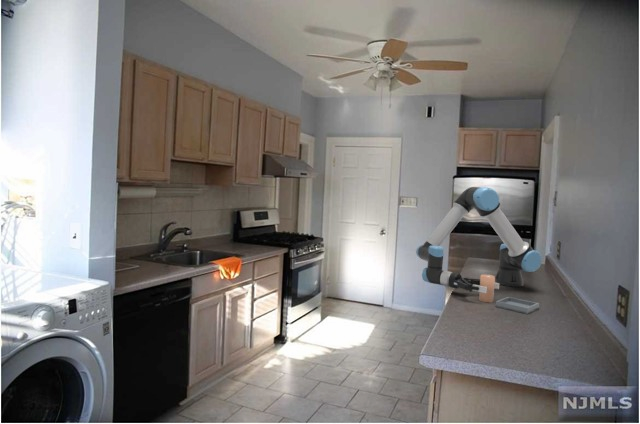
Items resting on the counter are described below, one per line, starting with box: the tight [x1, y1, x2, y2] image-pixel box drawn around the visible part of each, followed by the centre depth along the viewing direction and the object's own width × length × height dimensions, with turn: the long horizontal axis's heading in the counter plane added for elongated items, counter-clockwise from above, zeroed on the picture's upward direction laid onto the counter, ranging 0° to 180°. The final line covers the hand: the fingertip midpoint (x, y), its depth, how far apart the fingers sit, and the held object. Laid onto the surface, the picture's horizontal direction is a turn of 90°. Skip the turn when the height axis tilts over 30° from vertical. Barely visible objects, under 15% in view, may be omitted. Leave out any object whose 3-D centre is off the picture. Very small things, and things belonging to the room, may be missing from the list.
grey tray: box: [495, 296, 540, 315], centre depth 200 cm, size 14×14×2 cm
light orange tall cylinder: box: [478, 274, 496, 303], centre depth 210 cm, size 6×6×12 cm
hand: (492, 288), depth 208 cm, fingers open, 13 cm apart
